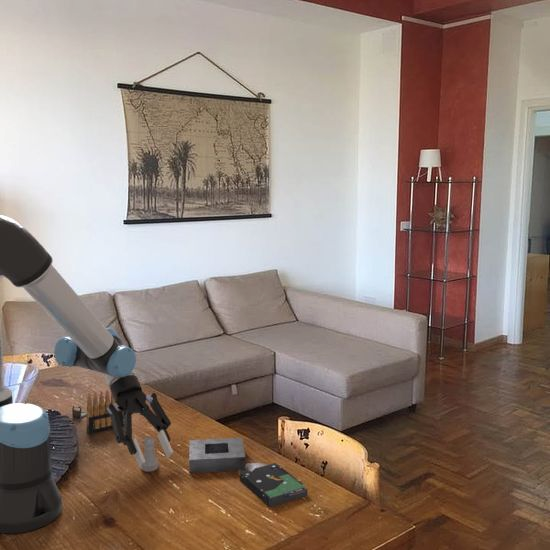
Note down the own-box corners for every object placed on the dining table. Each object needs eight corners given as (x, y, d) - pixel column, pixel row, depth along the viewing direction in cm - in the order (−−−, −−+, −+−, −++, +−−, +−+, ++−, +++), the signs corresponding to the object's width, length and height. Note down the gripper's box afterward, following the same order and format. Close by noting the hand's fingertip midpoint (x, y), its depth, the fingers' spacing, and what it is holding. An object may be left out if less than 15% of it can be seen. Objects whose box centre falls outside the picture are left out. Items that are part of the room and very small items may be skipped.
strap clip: (80, 414, 190) (80, 401, 189) (89, 414, 189) (88, 401, 189) (65, 424, 182) (64, 410, 181) (74, 425, 181) (73, 411, 180)
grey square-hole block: (245, 470, 151) (245, 456, 151) (189, 473, 149) (189, 460, 149) (242, 449, 163) (242, 437, 162) (190, 452, 161) (189, 440, 161)
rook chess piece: (160, 464, 154) (159, 434, 153) (157, 472, 150) (156, 441, 149) (142, 464, 154) (141, 434, 153) (139, 472, 150) (138, 442, 149)
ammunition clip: (121, 424, 181) (120, 386, 179) (124, 426, 179) (122, 387, 177) (86, 432, 174) (84, 393, 173) (88, 434, 173) (86, 394, 171)
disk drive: (238, 483, 146) (270, 509, 133) (238, 472, 145) (270, 497, 133) (275, 472, 151) (308, 497, 138) (275, 462, 151) (308, 485, 138)
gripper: (151, 380, 168) (184, 454, 158) (82, 397, 154) (114, 478, 145) (160, 366, 163) (196, 441, 153) (90, 382, 150) (124, 465, 140)
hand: (156, 459), depth 149 cm, fingers open, 7 cm apart
